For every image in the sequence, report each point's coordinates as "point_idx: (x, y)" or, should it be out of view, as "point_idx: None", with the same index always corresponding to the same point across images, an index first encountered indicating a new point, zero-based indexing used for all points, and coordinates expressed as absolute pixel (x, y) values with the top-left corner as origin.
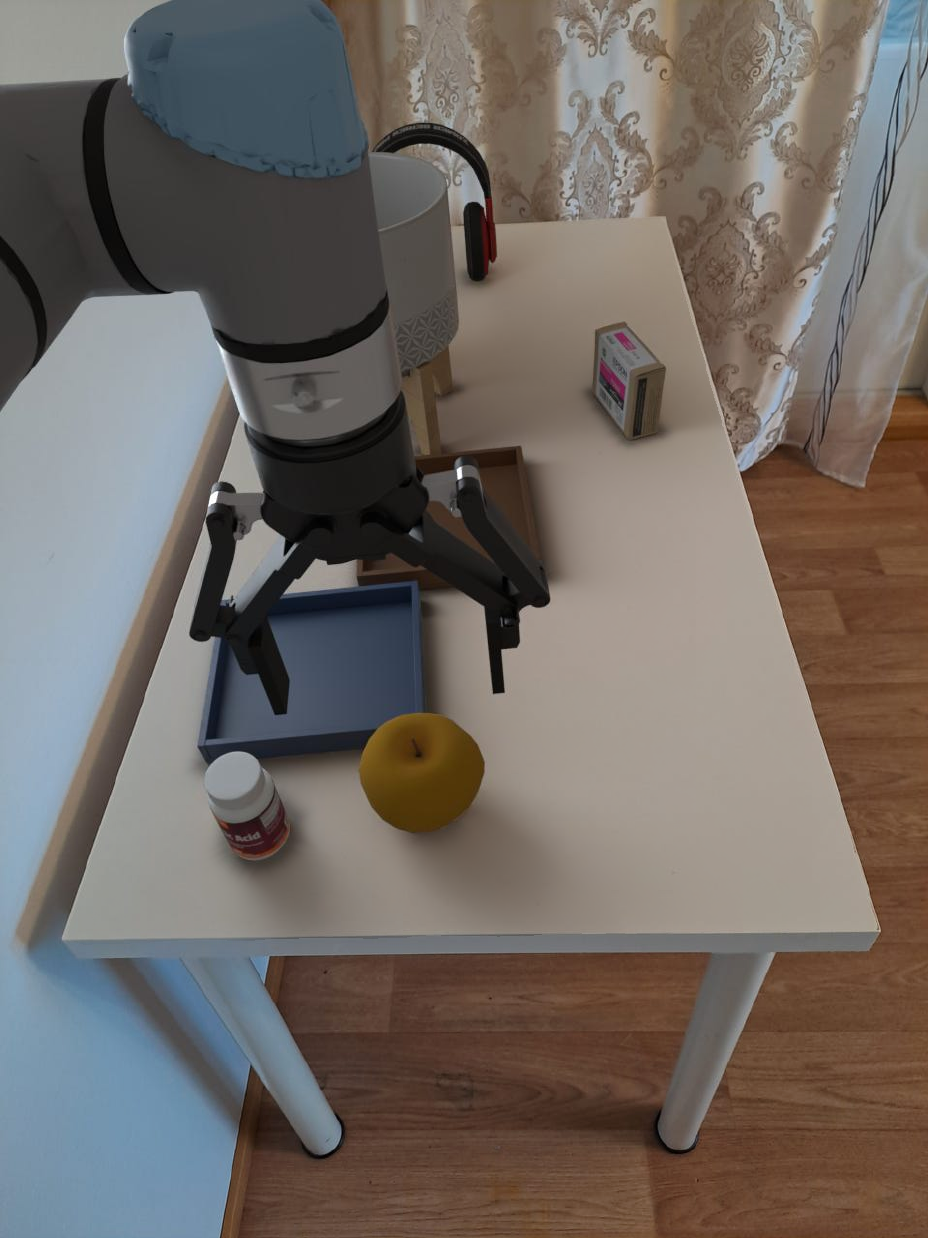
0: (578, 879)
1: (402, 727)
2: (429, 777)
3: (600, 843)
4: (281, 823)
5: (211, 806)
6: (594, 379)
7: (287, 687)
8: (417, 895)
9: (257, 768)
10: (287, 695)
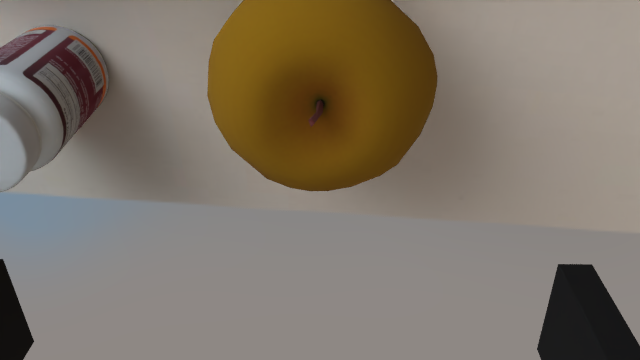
0: (522, 173)
1: (289, 70)
2: (341, 178)
3: (570, 128)
4: (92, 104)
5: None
6: None
7: (5, 298)
8: None
9: (15, 140)
10: (15, 312)
